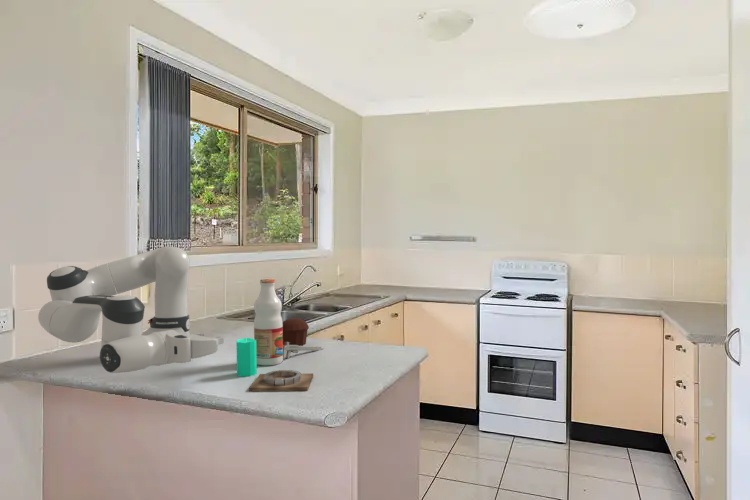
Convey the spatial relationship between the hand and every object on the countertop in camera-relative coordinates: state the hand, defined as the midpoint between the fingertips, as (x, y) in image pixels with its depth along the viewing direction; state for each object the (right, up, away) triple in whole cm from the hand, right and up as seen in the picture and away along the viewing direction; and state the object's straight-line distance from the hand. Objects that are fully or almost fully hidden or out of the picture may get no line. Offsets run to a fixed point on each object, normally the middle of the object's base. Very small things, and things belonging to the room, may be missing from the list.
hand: (212, 338), depth 151 cm
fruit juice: (+11, -13, +24) cm, 30 cm away
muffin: (+15, -12, +53) cm, 57 cm away
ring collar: (+20, -13, -1) cm, 24 cm away
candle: (+7, -13, +10) cm, 18 cm away
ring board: (+20, -13, -1) cm, 24 cm away
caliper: (+21, -12, +36) cm, 44 cm away
